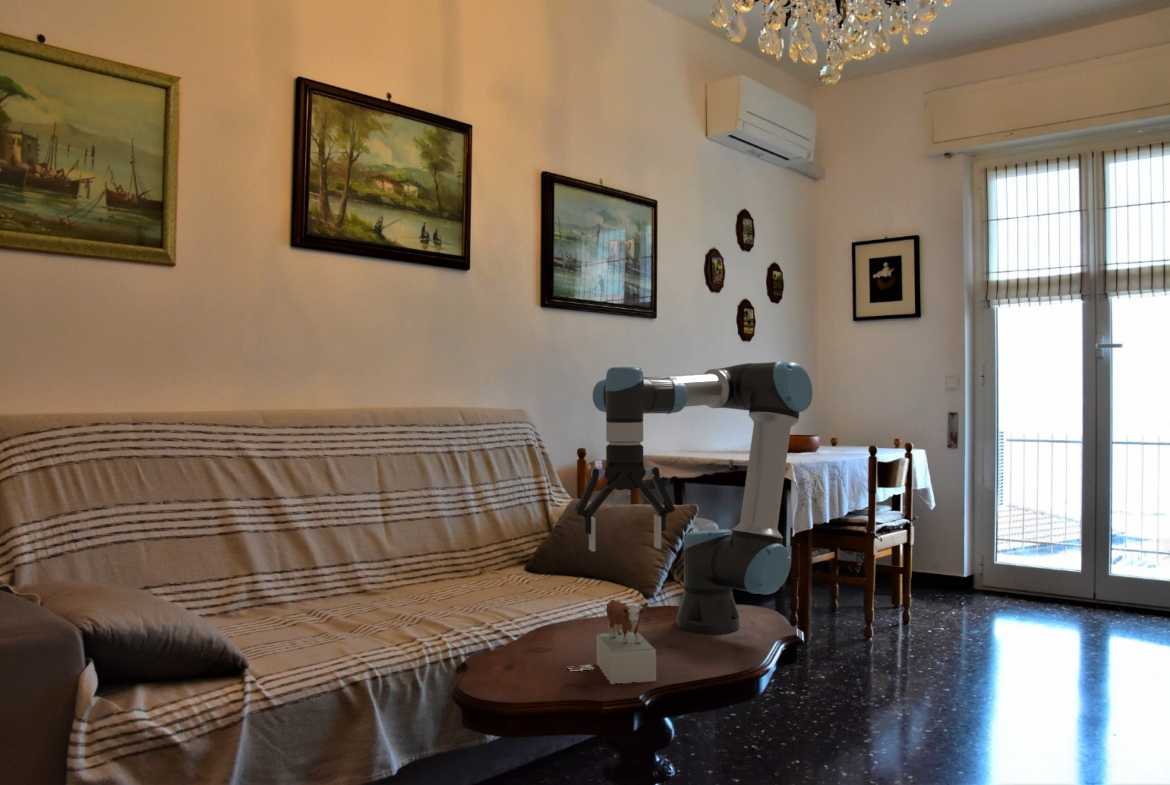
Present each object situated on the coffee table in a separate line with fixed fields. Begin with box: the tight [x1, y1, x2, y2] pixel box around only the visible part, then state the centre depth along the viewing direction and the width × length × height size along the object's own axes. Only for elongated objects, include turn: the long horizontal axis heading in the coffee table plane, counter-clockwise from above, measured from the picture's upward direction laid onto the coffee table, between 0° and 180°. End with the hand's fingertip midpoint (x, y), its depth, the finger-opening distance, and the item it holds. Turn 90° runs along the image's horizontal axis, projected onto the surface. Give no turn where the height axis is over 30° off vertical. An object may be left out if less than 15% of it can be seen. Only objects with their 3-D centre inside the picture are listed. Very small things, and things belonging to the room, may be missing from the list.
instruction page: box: [566, 664, 596, 672], centre depth 178 cm, size 5×3×1 cm, turn 110°
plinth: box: [596, 631, 657, 685], centre depth 176 cm, size 9×13×6 cm
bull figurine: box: [606, 599, 646, 644], centre depth 176 cm, size 4×13×8 cm, turn 21°
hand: (625, 549), depth 176 cm, fingers open, 13 cm apart
